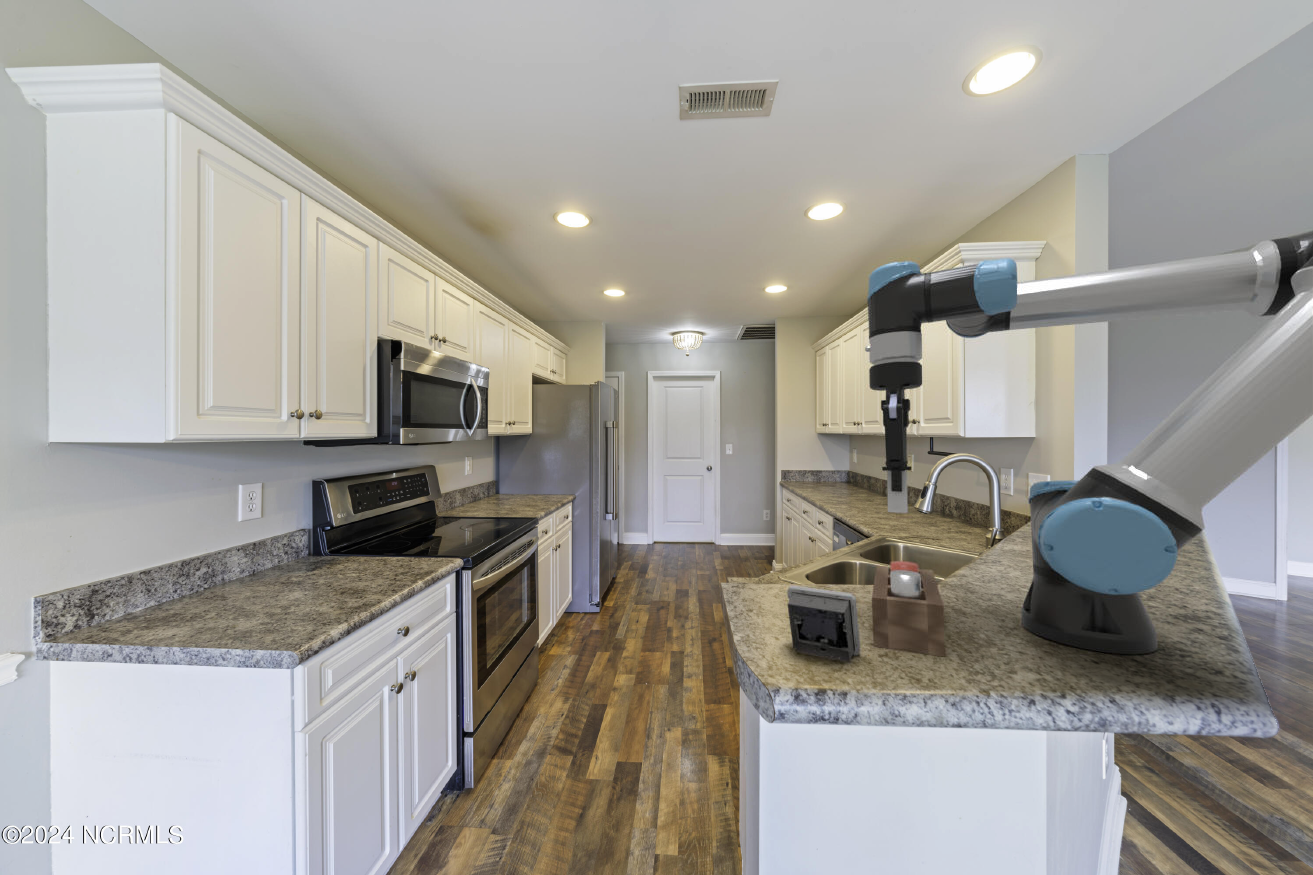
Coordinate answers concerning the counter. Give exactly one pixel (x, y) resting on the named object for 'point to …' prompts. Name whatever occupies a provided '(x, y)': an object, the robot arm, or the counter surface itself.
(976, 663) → the counter surface
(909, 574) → the metal plug
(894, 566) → the red plug
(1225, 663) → the counter surface
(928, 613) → the brown wooden box
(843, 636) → the electrical switch
